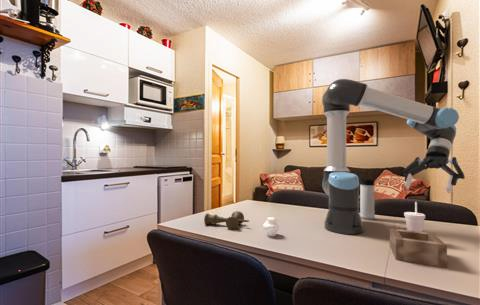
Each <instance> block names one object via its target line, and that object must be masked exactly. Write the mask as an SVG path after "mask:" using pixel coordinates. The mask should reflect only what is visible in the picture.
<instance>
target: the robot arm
mask: <svg viewBox="0 0 480 305" xmlns="http://www.w3.org/2000/svg"><path fill="white" fill-rule="evenodd" d="M321 102H322V106H323V115H324V116H325V117H326V167H325V168H324V169H323V179H322V183H321V187H322V190H323V192H324V193H325V194H326V195H327V197H328V211H327V213H326V216H325V219H324V225H323V226H324V228H325V229H326V231H329V232H332V233H336V234H342V235H343V234H344V235H359V234H363V233H364V232H365V231H364V228H365V227H364V223H363V221H362V220H363V219H362V218H361V217H360V215H361V214H360V210H359V208H360V193H359V192H360V181H359V180H360V178H359V176H358V175H357V174H355V173H352V172H351V171H350V169H349V168H348V167H347V116H348V115H349V114H350V113H351V112H350V110H351V106H354V107H360V106H363V107H366V108H369V109H372V110H376V111H379V112H383V113H385V114H388V115H393V116H396V117H398V118H402V119H406V124H407V126H409V127H410V128H412V129H413V130H415V131H416V132H419V133H421V134H422V135H424V136H425V137H427V138H428V139H430V143H429V145H428V148H427V150H426V152H425V157H424V158H420V157H419V156H417V157H415V158H414V160H413V161H412V162H411V163H410V164H408V165H407V166H406V167H405V168H404V169H403V170H401V171H402V172H401V173H402V174H403V176H404V182H405V183H404V188H405V189H406V190H409V189H410V186H411V184H412V182H413V178H414V177H413V176H415V175H417V174H418V173H420V172H423V171H424V170H428V169H440V168H441V169H442V171H444V172H446V173H447V174H448V175H449V176H448V180H447V184H446V187H445V189H446V192H447V193H448V194H451V192H452V189H453V186H457V184H458V180H459V179H461V180H464V179H465V174H464V172H463V170H462V169H461V167H460V165H459V162H458V159H457V157H456V156H454V157H452V158H449V157H450V155H451V154H450V153H451V150H452V147H453V143H454V140H455V138H456V134H457V127H456V124H457V123H458V122H459V118H460V116H459V112H458V111H457V110H456V109H455V108H453V107H443V108H439V107H435V106H432V105H428V104H425V103H422V102H419V101H416V100H413V99H412V100H411V99H409V98H405V97H403V96H398V95H395V94H391V93H388V92H385V91H382V90H378V89H374V88H372V87H369V85H368V84H367V83H364V82H360V81H356V80H352V79H347V78H340V79H336V80H334V81H333V82H331V83H330V84H329V86H328V87H327V89H326V90H325V91H324V93H323V94H322V99H321ZM449 163H450V165H452V167H453V168H454V170H455V171H454V170H453V169H452V168H451V167H449V166H448V164H449Z"/></svg>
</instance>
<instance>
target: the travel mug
mask: <svg viewBox="0 0 480 305" xmlns="http://www.w3.org/2000/svg"><path fill="white" fill-rule="evenodd" d="M359 180H360V181H359V192H360V193H359V208H360V210H359V214H360V217H361V220H365V221H366V220H367V221H374V220H375V215H376V214H375V202H376V201H375V200H376V199H375V194H376V193H375V180H374V179H369V178H363V177H360V178H359Z"/></svg>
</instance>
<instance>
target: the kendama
mask: <svg viewBox="0 0 480 305" xmlns="http://www.w3.org/2000/svg"><path fill="white" fill-rule="evenodd" d="M243 213H244V212H241V211H238V210H237V211H233V212H232V213H231V216H228V217H223V216H219V215H217V214H214V215H213V214H209V213H205V215H204V217H203V218H204V219H203V221H204V225H205V226H208V225H209V224H210V225H211V224H213V225H217V224H221V223H225V227H226V228H227V229H228V230H231V231H232V230H237V229H238V228H239V225H242V224H243V223H248V222H250V220H248V219H245V215H244V214H243Z"/></svg>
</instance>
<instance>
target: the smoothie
mask: <svg viewBox="0 0 480 305" xmlns="http://www.w3.org/2000/svg"><path fill="white" fill-rule="evenodd" d="M403 216H404V218H405V225H406V230H408V231H417V232H424V231H423V230H424V223H425V222H424V221H425V219H426V214H424V213H421V212H418V202H417V201H415V202H414V211H413V212H412V211H404V212H403Z"/></svg>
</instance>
